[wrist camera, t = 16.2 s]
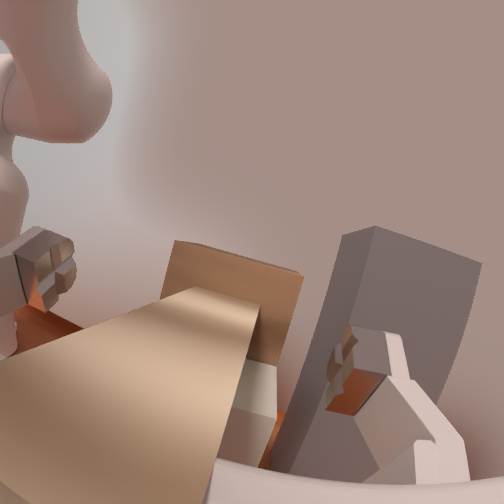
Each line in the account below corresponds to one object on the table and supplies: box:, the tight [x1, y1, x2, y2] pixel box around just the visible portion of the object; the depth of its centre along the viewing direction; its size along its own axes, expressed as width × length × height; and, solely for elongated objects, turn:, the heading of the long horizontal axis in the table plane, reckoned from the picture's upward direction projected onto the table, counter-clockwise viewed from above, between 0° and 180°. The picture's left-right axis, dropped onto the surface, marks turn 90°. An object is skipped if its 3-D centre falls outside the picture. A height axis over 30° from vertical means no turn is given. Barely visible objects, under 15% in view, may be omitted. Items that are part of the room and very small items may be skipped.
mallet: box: [0, 240, 304, 504], centre depth 12 cm, size 21×7×5 cm, turn 176°
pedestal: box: [270, 226, 482, 483], centre depth 26 cm, size 10×11×26 cm
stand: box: [216, 358, 277, 468], centre depth 17 cm, size 7×12×16 cm, turn 176°
